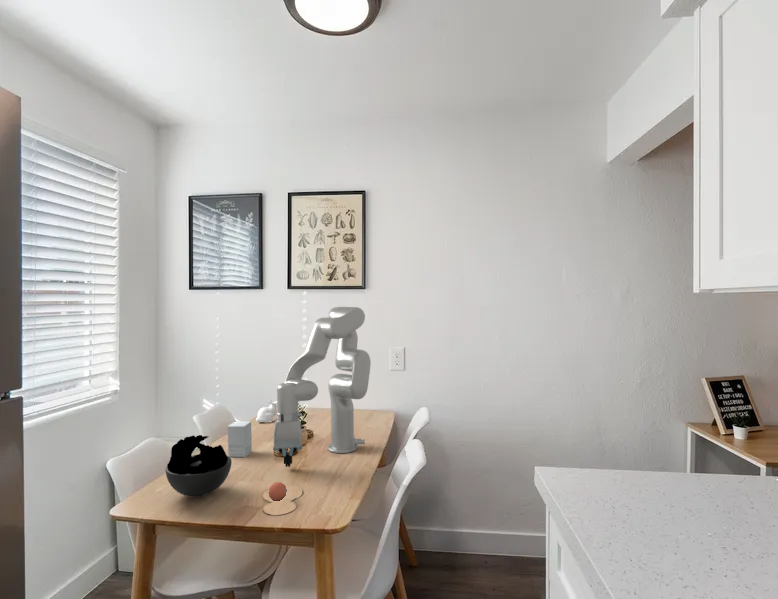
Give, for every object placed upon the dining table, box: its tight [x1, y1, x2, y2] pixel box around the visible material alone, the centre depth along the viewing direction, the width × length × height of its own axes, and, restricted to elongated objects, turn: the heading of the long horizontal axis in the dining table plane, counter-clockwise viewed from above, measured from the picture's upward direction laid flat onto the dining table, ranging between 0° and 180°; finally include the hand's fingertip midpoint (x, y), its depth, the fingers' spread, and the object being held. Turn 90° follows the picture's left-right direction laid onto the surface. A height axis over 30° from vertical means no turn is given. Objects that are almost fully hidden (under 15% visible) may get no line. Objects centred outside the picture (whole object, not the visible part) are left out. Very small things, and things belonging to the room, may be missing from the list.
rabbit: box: [255, 398, 277, 423], centre depth 238 cm, size 12×9×12 cm
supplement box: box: [227, 421, 253, 458], centre depth 189 cm, size 7×7×13 cm
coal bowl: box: [165, 434, 233, 498], centre depth 151 cm, size 20×20×19 cm
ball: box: [268, 481, 287, 501], centre depth 146 cm, size 6×6×6 cm
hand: (288, 465), depth 172 cm, fingers closed
